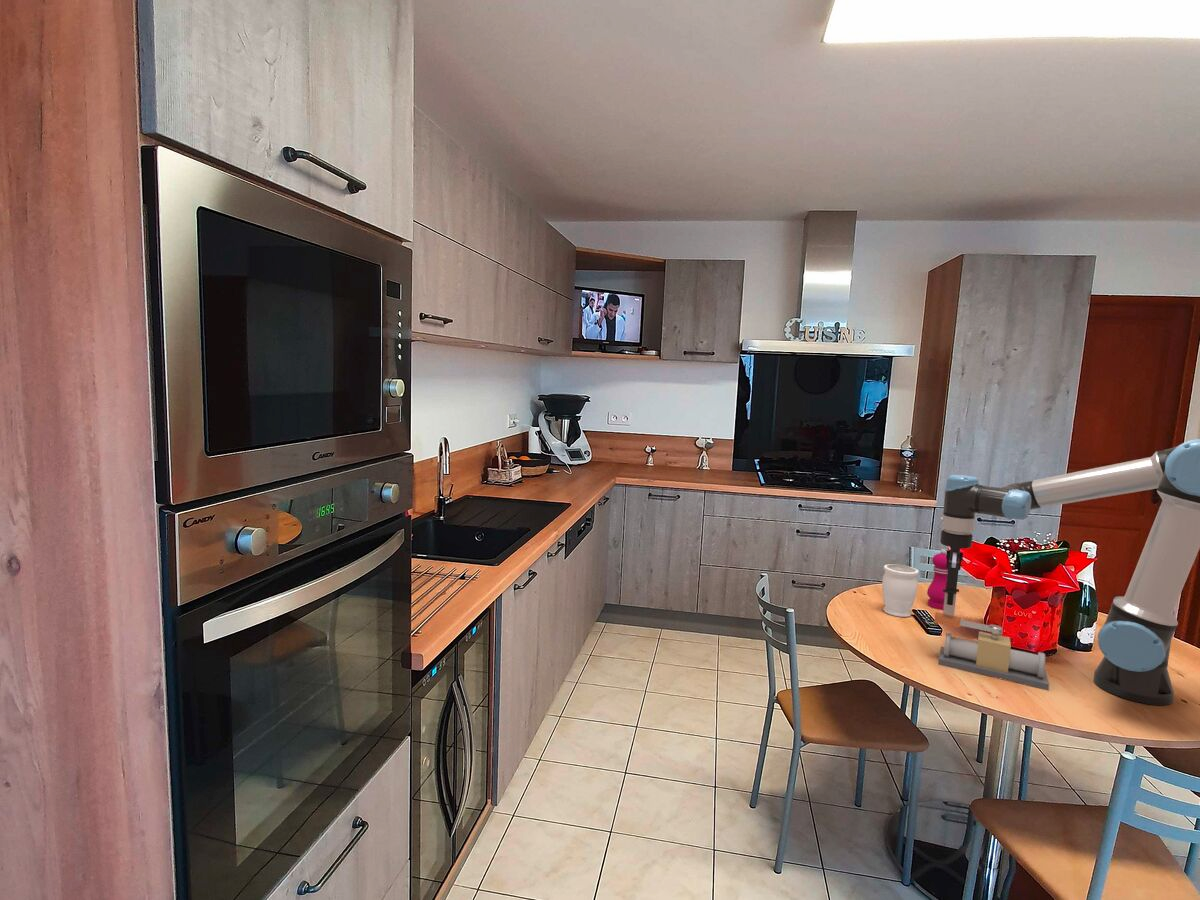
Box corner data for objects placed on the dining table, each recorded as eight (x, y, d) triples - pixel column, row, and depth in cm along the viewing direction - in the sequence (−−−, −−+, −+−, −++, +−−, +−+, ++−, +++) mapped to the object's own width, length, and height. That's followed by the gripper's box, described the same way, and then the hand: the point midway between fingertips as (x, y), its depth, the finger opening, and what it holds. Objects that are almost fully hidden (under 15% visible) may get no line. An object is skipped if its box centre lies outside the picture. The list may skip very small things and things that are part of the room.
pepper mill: (954, 610, 209) (960, 552, 207) (932, 609, 210) (938, 551, 208) (942, 603, 217) (948, 546, 215) (921, 602, 217) (927, 546, 215)
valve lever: (1001, 632, 164) (1002, 625, 164) (1001, 636, 162) (1002, 629, 161) (935, 619, 172) (935, 612, 172) (934, 622, 170) (934, 615, 169)
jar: (915, 621, 198) (919, 575, 197) (879, 614, 203) (883, 569, 201) (913, 610, 208) (918, 566, 206) (879, 605, 212) (883, 561, 211)
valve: (1044, 675, 163) (1049, 638, 162) (1048, 690, 154) (1052, 652, 153) (940, 651, 175) (943, 617, 174) (938, 664, 166) (941, 628, 166)
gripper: (942, 525, 178) (934, 605, 181) (940, 533, 167) (932, 618, 170) (972, 529, 175) (964, 611, 177) (973, 538, 163) (964, 625, 166)
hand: (948, 614), depth 173 cm, fingers closed
